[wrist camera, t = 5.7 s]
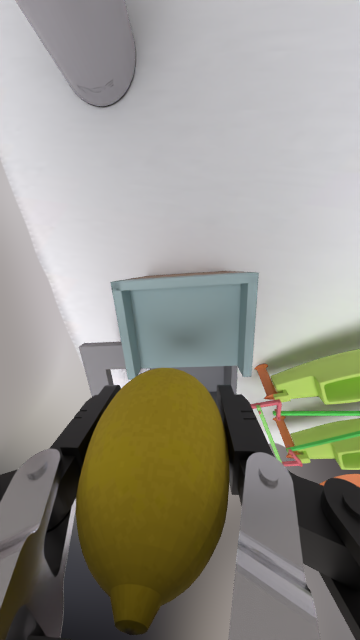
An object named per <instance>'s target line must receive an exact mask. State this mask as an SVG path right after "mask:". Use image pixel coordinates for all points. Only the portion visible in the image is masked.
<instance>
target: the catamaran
mask: <svg viewBox="0 0 360 640" xmlns="http://www.w3.org/2000/svg"><path fill="white" fill-rule="evenodd" d="M267 367H268V365H267V364H261V365H259V366H257V367H256V368H255V369H256V370H257V371H258V374H259V376H260V379H261V381H262V384H263V387H264V389H265V392H266V394H267V396H266V397H265V398H264V399H270V400H273V401H267V402H261V403H255V404H250V405H251V407H252V409H254V408H257V410H258V412H259V415H260V417H261V420H262V422H263V425H264V427H265V430H266V432H267V435H268V438H269V440H270V443H271V445H272V448H273V450H274V453H275V455H276V458H277V459H278V460H279V461H280V462H281V459H280V457H279V454H278V451H277V449H276V447H275V444H274V441H273V438H272V436H271V433H270V431H269V428H268V426H267V423H266V420H265V418H264V415H263V413H262V410H261V407H266V406H273V405H277V410H276V409H275V411H273V415H276V417H275V418H273V420H275V421H276V423H277V426H278V428H279V431H280V434H281V436H282V439H283V441H284V444H285V447H286V450H287V452H288V455H287V456H286V457H287V458H294V459H295V460H296V461H287V462H281V463H282V464H283V465H284V466H301V467H302V463H310V459H335V460H336V461H337V462H338V464H339V466H340V467H341V469H346V470H360V418H358V419H350V420H343V421H337V422H332V423H328V424H324V425H320V426H316V427H313V428H309V429H306V430H302V431H299V432H295V433H291V434H289V431H288V429H287V427H286V425H285V422H284V419H285V416H281V415H286V416H360V411H281V405H282V404H281V402H287V401H291V400H290V399H294V398H305V397H315V396H316V397H320V399H321V400H322V401H323V403H324V404H325V405H328V404H341V403H351V402H360V349H356V350H352V351H348V352H343V353H339V354H335V355H331V356H327V357H323V358H319V359H316V360H313V361H310V362H307V363H304V364H302V365H299V366H296V367H293V368H291V369H288V370H285V371H283V372H280V373H277V374H275V375H272V376H271V379H270V377H269V375H268V373H267V370H266V368H267ZM271 380H272V381H271ZM272 382H273V383H272ZM290 435H291V436H290ZM291 437H292V438H291ZM292 440H293V441H292ZM334 478H340V479H344V480H347V481H349V482H351V483H353V484H355V485H356V486H358V487H360V474H347V475H341V476H337V477H334ZM326 481H327V480H326ZM326 481H324V482H322V483H320V485H323V486H324V484H325V482H326Z"/></svg>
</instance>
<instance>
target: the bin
mask: <svg viewBox="0 0 360 640" xmlns="http://www.w3.org/2000/svg"><path fill="white" fill-rule="evenodd" d="M172 368H174V369H178V370H181V371H184V372H186V373H188V374H190V375H192V376H193V377H195V378H196V379H197V380H198V381H199V382H201V383H202V384H203V385H204V386H205V387H206V389H207V390H208V392H209V393H210V395H211V396H212V398H213V399H214V401H215V403H216V395H217V385H231V387H232V389H233V392H234V395H236V389H237V366H207V367H172ZM152 369H157V368H150V370H152Z"/></svg>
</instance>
